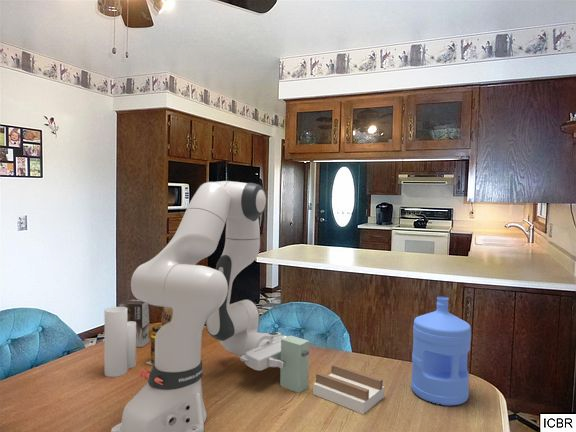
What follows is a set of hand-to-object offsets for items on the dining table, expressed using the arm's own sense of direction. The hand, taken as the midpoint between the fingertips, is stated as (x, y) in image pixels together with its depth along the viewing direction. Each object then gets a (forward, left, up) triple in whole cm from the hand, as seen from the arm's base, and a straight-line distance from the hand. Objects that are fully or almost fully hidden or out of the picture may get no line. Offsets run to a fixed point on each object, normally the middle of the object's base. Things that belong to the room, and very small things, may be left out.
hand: (294, 359), depth 119 cm
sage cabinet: (0, 0, -8) cm, 8 cm away
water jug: (+25, -34, -8) cm, 43 cm away
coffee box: (-13, +66, -8) cm, 68 cm away
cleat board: (+6, -15, -8) cm, 18 cm away
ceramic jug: (+2, +59, -8) cm, 60 cm away
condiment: (-15, +45, -8) cm, 48 cm away
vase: (-28, +49, -8) cm, 57 cm away
